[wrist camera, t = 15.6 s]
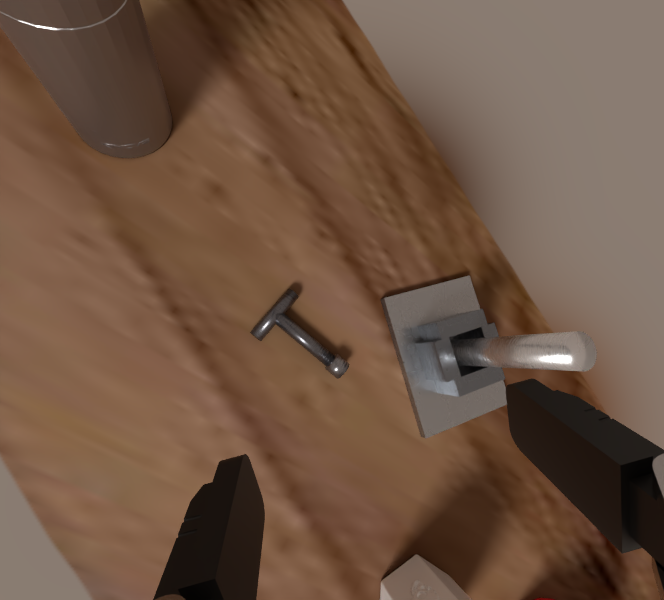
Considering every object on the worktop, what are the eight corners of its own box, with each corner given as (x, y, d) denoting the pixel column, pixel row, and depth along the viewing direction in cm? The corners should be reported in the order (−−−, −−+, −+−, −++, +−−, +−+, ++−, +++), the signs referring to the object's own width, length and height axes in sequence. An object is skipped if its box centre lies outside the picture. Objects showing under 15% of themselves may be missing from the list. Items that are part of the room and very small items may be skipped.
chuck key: (250, 332, 35) (250, 331, 33) (287, 290, 36) (290, 286, 34) (323, 393, 36) (328, 395, 34) (356, 348, 37) (362, 348, 35)
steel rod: (434, 344, 39) (560, 337, 24) (454, 337, 40) (588, 327, 24) (441, 367, 39) (573, 376, 23) (461, 360, 39) (601, 364, 24)
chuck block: (380, 299, 39) (400, 291, 34) (464, 277, 43) (492, 267, 38) (421, 436, 38) (447, 447, 33) (504, 401, 41) (538, 407, 36)
